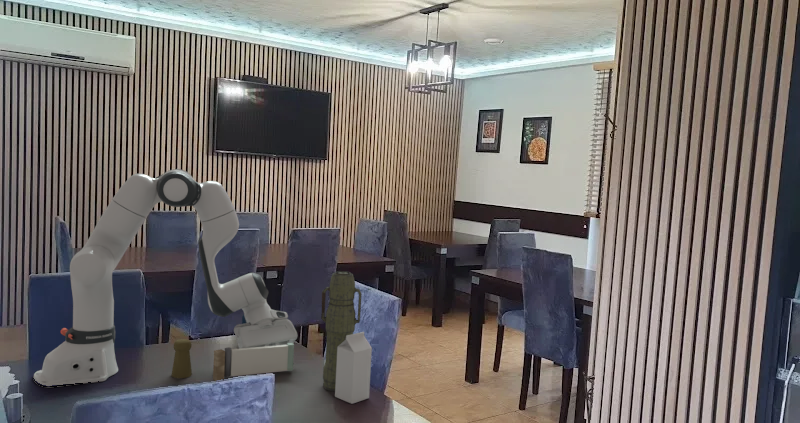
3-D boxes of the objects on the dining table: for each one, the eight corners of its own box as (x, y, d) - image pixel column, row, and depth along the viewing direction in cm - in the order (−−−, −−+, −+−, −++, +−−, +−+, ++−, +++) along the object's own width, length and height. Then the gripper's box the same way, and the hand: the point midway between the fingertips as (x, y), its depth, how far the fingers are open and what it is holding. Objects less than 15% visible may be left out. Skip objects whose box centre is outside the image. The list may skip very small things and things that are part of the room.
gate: (224, 377, 190) (225, 349, 189) (223, 375, 192) (224, 347, 191) (292, 370, 200) (294, 344, 199) (291, 368, 201) (292, 342, 201)
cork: (185, 379, 188) (186, 343, 188) (167, 376, 190) (168, 341, 189) (195, 373, 194) (196, 338, 194) (178, 370, 196) (179, 336, 195)
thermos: (317, 380, 194) (323, 269, 191) (355, 381, 195) (361, 270, 192) (317, 391, 185) (322, 274, 182) (357, 391, 186) (363, 275, 184)
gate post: (216, 381, 188) (217, 352, 187) (212, 379, 190) (214, 350, 189) (223, 380, 189) (225, 351, 189) (220, 378, 191) (221, 349, 190)
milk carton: (369, 398, 182) (372, 334, 180) (351, 404, 176) (355, 338, 175) (352, 391, 186) (355, 329, 185) (334, 397, 181) (337, 333, 179)
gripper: (235, 320, 197) (250, 358, 191) (290, 311, 211) (306, 347, 205) (228, 330, 201) (242, 368, 194) (283, 321, 215) (297, 357, 208)
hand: (275, 357), depth 200 cm, fingers closed
